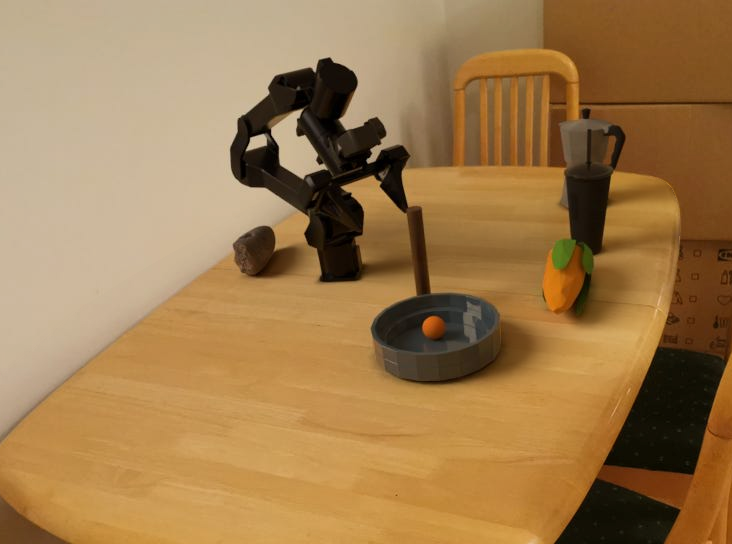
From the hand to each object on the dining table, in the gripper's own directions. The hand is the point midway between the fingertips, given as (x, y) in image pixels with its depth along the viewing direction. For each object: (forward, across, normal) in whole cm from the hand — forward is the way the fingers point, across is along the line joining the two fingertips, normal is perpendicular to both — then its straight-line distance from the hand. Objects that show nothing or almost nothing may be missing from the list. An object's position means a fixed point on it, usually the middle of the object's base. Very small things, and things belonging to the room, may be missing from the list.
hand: (384, 221), depth 104 cm
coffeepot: (+9, +50, +9) cm, 52 cm away
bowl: (+22, -7, -4) cm, 23 cm away
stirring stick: (+14, 0, +4) cm, 15 cm away
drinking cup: (+19, +31, -1) cm, 37 cm away
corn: (+25, +15, -7) cm, 30 cm away
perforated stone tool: (-13, -7, +31) cm, 35 cm away
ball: (+19, -6, -4) cm, 20 cm away
